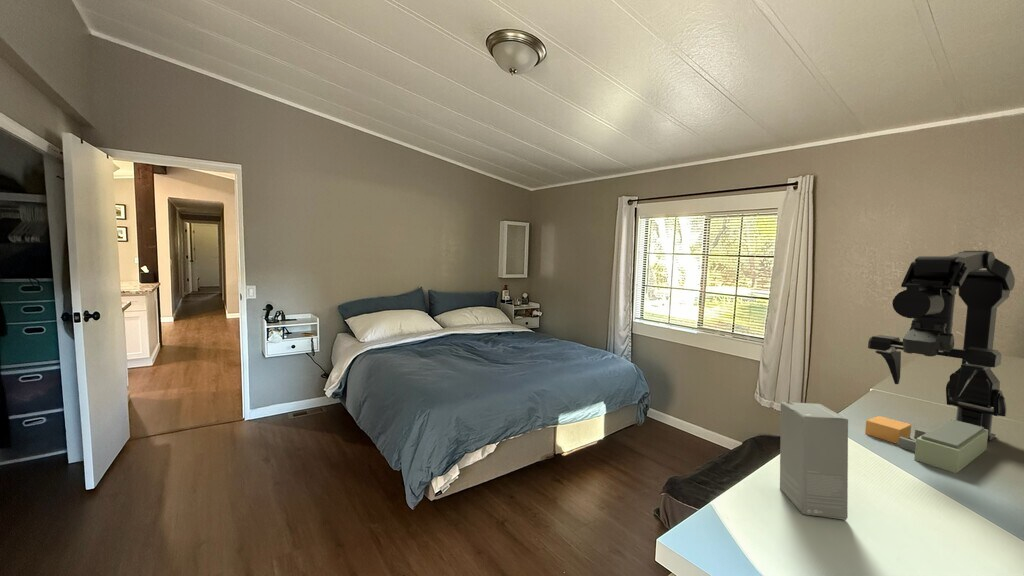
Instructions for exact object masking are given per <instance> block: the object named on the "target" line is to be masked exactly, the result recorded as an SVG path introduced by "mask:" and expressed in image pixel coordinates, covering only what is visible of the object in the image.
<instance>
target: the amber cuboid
mask: <svg viewBox="0 0 1024 576" xmlns="http://www.w3.org/2000/svg"><path fill="white" fill-rule="evenodd" d="M864 430H865V431H864V432H865V434H864V435H868V436H871V437H875V438H877V439H881V440H884V441H887V442H891V443H894V444H898V445H899V438H900V437H903V438H907V439H910V438H911V431H912V424H910V423H906V422H903V421H899V420H896V419H892V418H889V417H885V416H881V415H877V416H874V417H871V418H869V419H866V420H865V429H864Z"/></svg>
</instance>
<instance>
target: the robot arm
mask: <svg viewBox="0 0 1024 576" xmlns="http://www.w3.org/2000/svg"><path fill="white" fill-rule="evenodd" d="M907 269H908V270H907V271H906V274H905V276H904V277H903V280H902V282H901V286H900V287H901V288H906V289H904V290H901V291H900V292H898V293H897V294H896V295H895V296H894V298H893V299H892V307H893V308H892V309H893V310H894V311H895V312H896V313H897V314H898V315H899V316H901V317H903V318H907V319H912V320H911V324H910V327H909V330H907V331H906V332H905V334H904V335H903V337H902V340H901V339H900V337H899V336H891V335H884V334H878V335H873V336H871V337H869V339H868V344H867V348H868V349H869V350H875V354H878V355H881V357H882V358H883V359H884V360H885V363H886V364H887V366H888V368H889V370H890V371H889V372H890V373H891V377H892V380H893V382H894V385H899V384H900V381H901V365H902V363H901V361H902V360H901V357H902V351H903V352H904V353H906V354H911V355H912V354H917V355H922V356H925V357H936V356H942V357H948V358H953V359H954V358H956V359H961V364H960V367H959V368H958V369H957V370H955V372H953V373H951V374H950V375H949V380H948V381H947V383H946V385H945V397H946V399H945V400H946V405H948V406H953V407H956V417H955V420H957V421H961V422H965V423H969V424H973V425H977V426H981V427H984V429H987V430H988V439H987V442H990V441H992V440H993V439H995V438H996V436H997V435H996V433H992V426H993V417H1007V409H1008V408H1007V403H1006V398H1005V396H1004V394H1003V391H1002V390H1001V389H1000V387H1001V386H1000V385H1001V382H1000V380H999V379H998V377H997V376H996V375H995V373H994V372H993V371H992V368H997V367H999V366H1000V365H1002V353H1001V352H1000V351H999V350H997V349H993V348H994V338H995V331H996V330H995V329H996V320H997V313H998V312H997V311H998V307H1000V306H1001V305H1003V303H1005V301H1006V300H1008V299H1009V297H1010V293H1011V292H1012V291H1013V290H1014V288H1015V284H1016V283H1015V282H1016V281H1015V280H1016V278H1015V275H1014V272H1013V270H1012V267H1011V266H1010V265H1008V264H1007V263H1005V262H1003V261H1002V260H999V259H998V258H996V256H995V253H994V252H993V251H989V250H963V251H959V252H958V253H954V254H949V255H947V256H945V255H944V256H943V255H941V256H940V255H939V256H937V255H936V256H934V255H931V256H930V255H927V256H926V255H925V256H924V255H923V256H922V255H920V256H917V257H916V258H915V259H914V261H911V263H910V265H909V267H908V268H907ZM957 289H958V293H957V291H956V290H957ZM957 294H958V297H960V299H961V300H962V302H963V303H964V304H965V305H966V317H965V328H964V335H963V336H964V337H963V347H962V349H961V348H955V336H954V333H952V332H953V331H952V330H953V324H954V323H953V320H954V311H955V310H954V309H955V301H956V296H955V295H957Z"/></svg>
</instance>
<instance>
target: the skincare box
mask: <svg viewBox="0 0 1024 576" xmlns="http://www.w3.org/2000/svg"><path fill="white" fill-rule="evenodd" d="M779 426H780V444H779V445H780V446H779V447H780V448H779V450H780V451H779V489H780V491H782V493H783V494H784V495H785V496H786V497H787V498H788V499H789V500H790V501H791V502H792V504H793V505H795V507H796V508H797V509H798V510H799V512H801V514H803V515H807V516H813V517H815V516H817V517H824V518H831V519H839V520H844V521H847V519H848V515H849V514H848V507H849V506H848V497H849V496H848V493H849V492H848V491H849V490H848V487H849V486H848V485H849V484H848V483H849V479H848V477H849V476H848V475H849V474H848V473H849V471H848V470H849V462H848V461H849V419H848V418H847V417H844V416H842V415H841V414H839V413H837V412H835V411H833V410H832V409H830V408H828V407H826V406H824V405H823V404H821V403H810V402H809V403H808V402H791V401H789V402H788V401H781V402H780V425H779Z"/></svg>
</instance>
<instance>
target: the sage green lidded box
mask: <svg viewBox="0 0 1024 576" xmlns="http://www.w3.org/2000/svg"><path fill="white" fill-rule="evenodd" d="M914 439H915V440H914ZM914 439H910V438H909V439H907V438H903V437H900V438H899V444H898V446H897V447H898V448H902V449H904V450H905V449H906V450H909V451H911V452H914V458H913V459H914V461H915V462H916V461H917V462H919V461H920V462H919V463H922V464H925V465H929V466H933V467H935V468H938V469H941V470H944V471H948V472H950V473H954V474H957V473H959V472H960V471H961V470H963V469H964V468H965V467H966V466H967V465H969V464H970V463H971V462H973V461H974V460H975V459H976V458H978V457H979V456H980V455H982V454H983V453H984V452H985V451H986V450H987V446H988V441H987V439H988V430H987V429H984V427H981V426H977V425H973V424H969V423H965V422H961V421H957V420H956V419H949V420H947V421H945V422H944V423H942V424H941V425H939V426H937V427H935V428H933V429H931V430H929V431H926V430H922V429H919V428H915V429H914Z"/></svg>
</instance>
